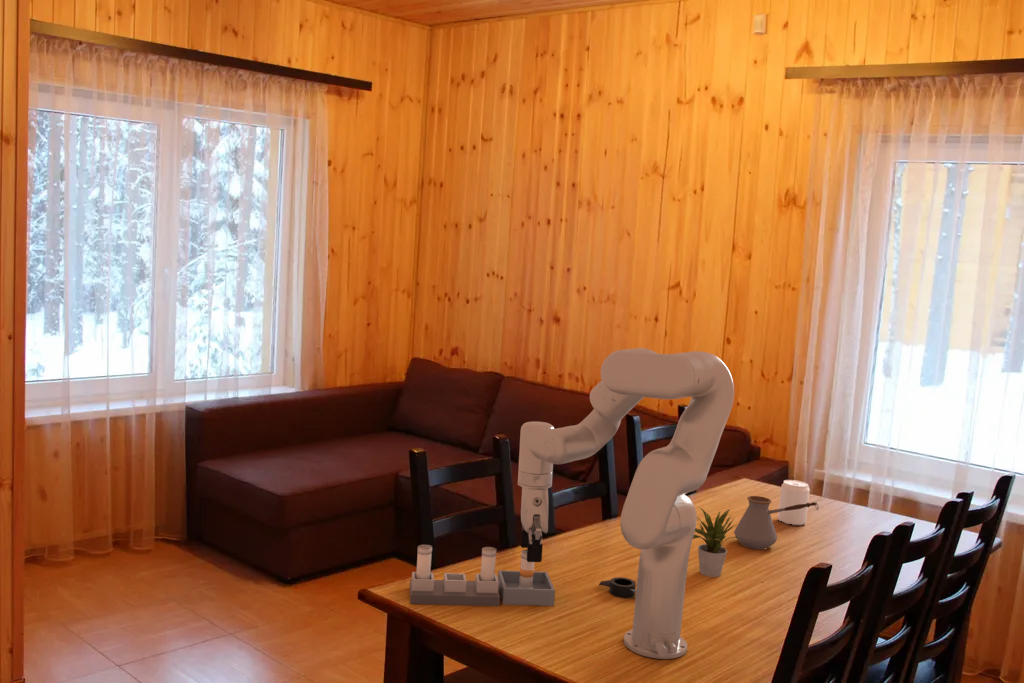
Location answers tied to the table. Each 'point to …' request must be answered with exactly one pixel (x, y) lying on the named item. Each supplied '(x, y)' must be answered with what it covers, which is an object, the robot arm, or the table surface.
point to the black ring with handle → (620, 587)
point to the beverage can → (793, 502)
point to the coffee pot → (760, 523)
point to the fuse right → (488, 564)
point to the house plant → (712, 544)
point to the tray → (520, 596)
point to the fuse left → (423, 562)
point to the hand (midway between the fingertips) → (530, 554)
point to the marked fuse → (526, 572)
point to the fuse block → (454, 590)
